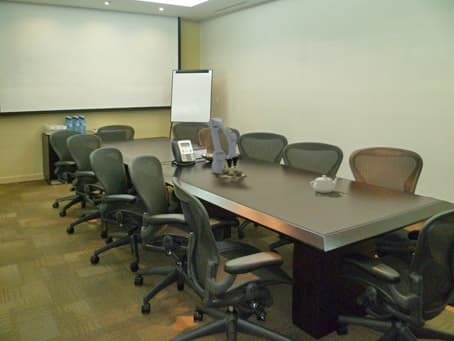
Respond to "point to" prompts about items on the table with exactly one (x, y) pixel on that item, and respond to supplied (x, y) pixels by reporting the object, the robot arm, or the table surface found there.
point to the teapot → (324, 184)
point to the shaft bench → (226, 175)
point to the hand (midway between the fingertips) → (232, 166)
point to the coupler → (232, 170)
